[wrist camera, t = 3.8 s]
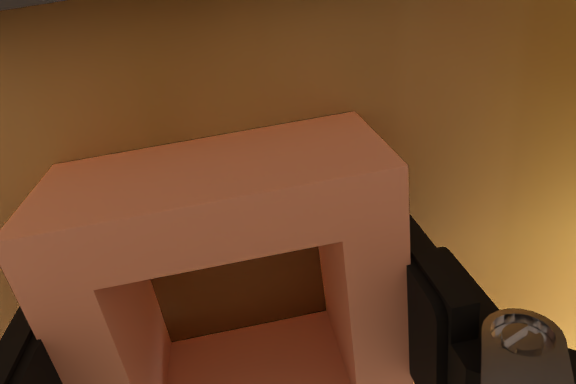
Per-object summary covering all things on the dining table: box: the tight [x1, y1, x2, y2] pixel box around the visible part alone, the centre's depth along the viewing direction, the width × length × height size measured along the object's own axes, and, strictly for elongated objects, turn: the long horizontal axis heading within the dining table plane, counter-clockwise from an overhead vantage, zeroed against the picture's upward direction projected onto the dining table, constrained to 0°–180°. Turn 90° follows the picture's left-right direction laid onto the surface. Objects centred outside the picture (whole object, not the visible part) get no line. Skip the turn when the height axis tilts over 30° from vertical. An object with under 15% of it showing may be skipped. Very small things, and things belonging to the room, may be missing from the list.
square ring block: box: [0, 111, 413, 384], centre depth 11 cm, size 7×7×4 cm
